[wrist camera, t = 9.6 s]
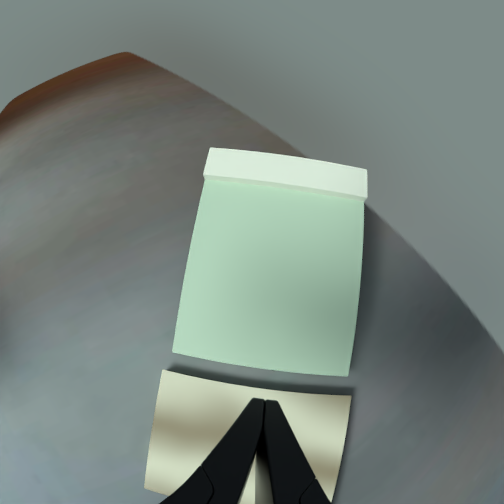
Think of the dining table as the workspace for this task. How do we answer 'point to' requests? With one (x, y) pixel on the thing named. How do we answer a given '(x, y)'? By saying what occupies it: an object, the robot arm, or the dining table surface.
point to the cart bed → (221, 419)
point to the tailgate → (274, 264)
